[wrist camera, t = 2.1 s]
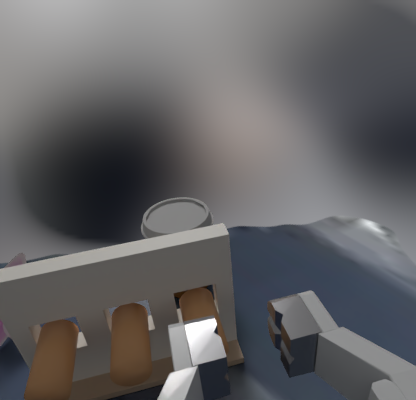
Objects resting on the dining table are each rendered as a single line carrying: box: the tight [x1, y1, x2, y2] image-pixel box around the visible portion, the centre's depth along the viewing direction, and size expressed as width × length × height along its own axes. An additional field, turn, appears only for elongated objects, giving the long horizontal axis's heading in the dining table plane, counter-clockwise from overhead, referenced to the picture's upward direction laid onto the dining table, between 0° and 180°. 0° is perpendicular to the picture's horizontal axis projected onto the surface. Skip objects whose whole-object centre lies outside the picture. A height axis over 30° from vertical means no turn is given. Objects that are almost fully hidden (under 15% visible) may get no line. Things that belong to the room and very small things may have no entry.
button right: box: [179, 287, 229, 355], centre depth 33 cm, size 4×6×4 cm, turn 13°
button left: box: [24, 320, 79, 400], centre depth 31 cm, size 4×6×4 cm, turn 13°
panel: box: [0, 223, 244, 400], centre depth 36 cm, size 22×7×16 cm, turn 103°
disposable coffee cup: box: [141, 197, 213, 298], centre depth 47 cm, size 10×10×12 cm
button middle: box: [110, 303, 152, 386], centre depth 32 cm, size 4×6×4 cm, turn 13°
